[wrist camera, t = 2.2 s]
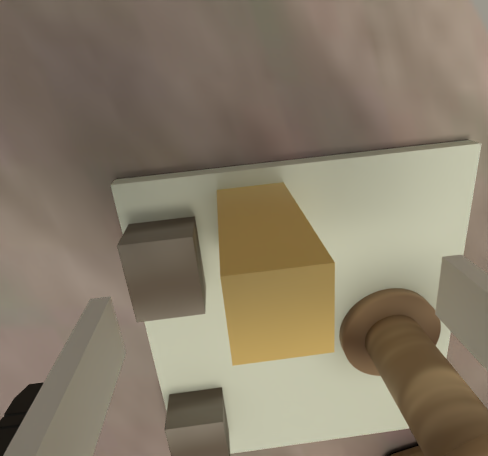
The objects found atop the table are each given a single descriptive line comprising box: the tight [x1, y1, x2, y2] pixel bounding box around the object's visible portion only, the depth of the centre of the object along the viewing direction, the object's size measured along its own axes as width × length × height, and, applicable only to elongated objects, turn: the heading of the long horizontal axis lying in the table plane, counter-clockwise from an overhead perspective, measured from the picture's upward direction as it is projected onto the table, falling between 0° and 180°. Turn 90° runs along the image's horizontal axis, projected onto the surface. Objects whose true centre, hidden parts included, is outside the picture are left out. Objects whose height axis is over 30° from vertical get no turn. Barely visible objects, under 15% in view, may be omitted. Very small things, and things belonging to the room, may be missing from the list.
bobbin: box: [339, 288, 488, 456], centre depth 22 cm, size 7×7×12 cm
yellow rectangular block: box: [217, 182, 335, 366], centre depth 18 cm, size 4×4×10 cm
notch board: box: [117, 216, 230, 456], centre depth 25 cm, size 19×4×3 cm, turn 5°
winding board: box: [111, 140, 481, 454], centre depth 27 cm, size 24×22×1 cm
